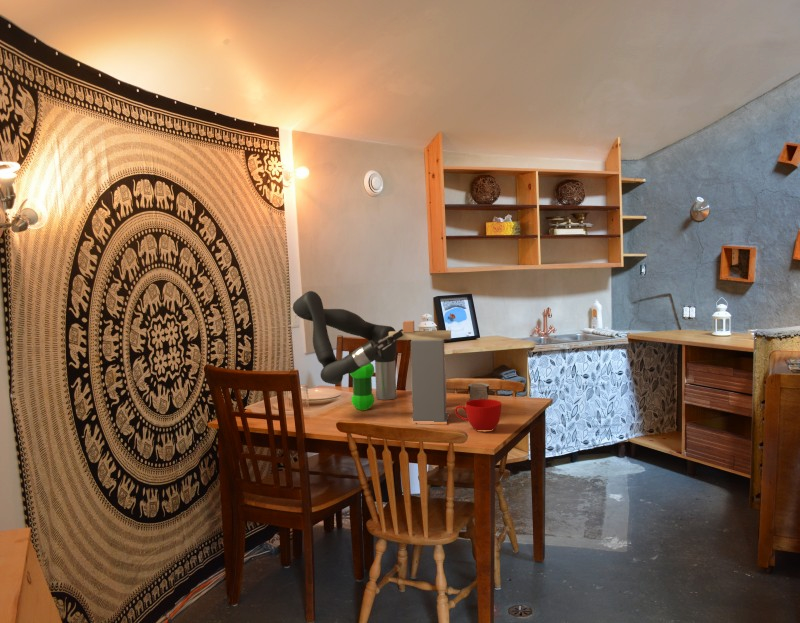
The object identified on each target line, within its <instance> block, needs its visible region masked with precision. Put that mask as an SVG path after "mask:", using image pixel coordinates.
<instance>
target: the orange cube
mask: <svg viewBox="0 0 800 623" xmlns="http://www.w3.org/2000/svg"><path fill="white" fill-rule="evenodd" d="M402 329H403V332H414V331H416V329H415V320H403V321H402Z"/></svg>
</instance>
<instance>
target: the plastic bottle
mask: <svg viewBox="0 0 800 623" xmlns="http://www.w3.org/2000/svg"><path fill="white" fill-rule="evenodd" d="M374 374H375V365H374V364H373V363H372V362H371V363H369V364H368V365H366V366H363V367H361V368H360V369H358V370H356V371H355V372H353V373H349V376H351V377H352V392H353V394H352V396H351V404H352V405H353V407H354V408H356V409H357V410H359V411H365V410H367V411H368V410H370V408H371V407H372V406H373V404H374V403H375V396H374V394H373V386H372V385H373V383H372V382H373V381H372V377H373V376H374Z"/></svg>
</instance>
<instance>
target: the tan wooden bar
mask: <svg viewBox="0 0 800 623" xmlns="http://www.w3.org/2000/svg"><path fill="white" fill-rule="evenodd" d="M397 332H399V330H395V331H390V332H389V337H390V336H393V335H394V334H395V333H397ZM402 333H403V336H402V337H400V338H398V339H397V341H410V340H430V339H444V340H451V339H452V330H449V329H448V330H443V329H442V330H415V331H414V332H403V331H402Z"/></svg>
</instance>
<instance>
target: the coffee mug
mask: <svg viewBox="0 0 800 623" xmlns="http://www.w3.org/2000/svg"><path fill="white" fill-rule="evenodd" d="M474 384H482V385H485V386H486V388H487V395H488V396H489V393H490V392H489V391H490V384H488V383H483V382H473V383H469V384H468V385H467V386H468V388H467V391H468V393H469V395H470V388H471V386H472V385H474Z"/></svg>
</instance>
